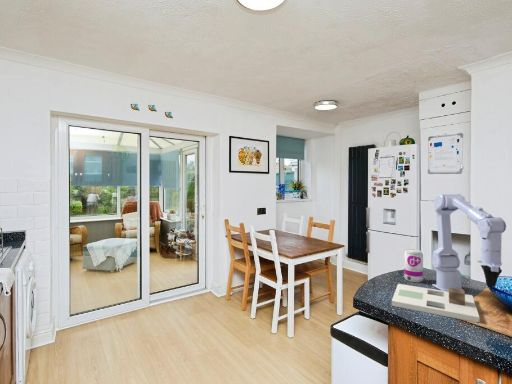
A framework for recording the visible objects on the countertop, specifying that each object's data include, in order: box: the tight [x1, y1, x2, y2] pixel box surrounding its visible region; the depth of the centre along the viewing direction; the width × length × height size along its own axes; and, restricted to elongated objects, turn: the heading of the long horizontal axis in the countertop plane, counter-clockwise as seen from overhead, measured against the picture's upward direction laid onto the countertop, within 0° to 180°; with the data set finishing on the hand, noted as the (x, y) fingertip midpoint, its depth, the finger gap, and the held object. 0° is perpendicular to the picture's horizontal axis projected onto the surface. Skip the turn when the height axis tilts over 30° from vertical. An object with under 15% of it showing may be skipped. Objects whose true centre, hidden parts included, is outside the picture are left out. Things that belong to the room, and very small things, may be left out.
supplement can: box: [403, 248, 424, 283], centre depth 145 cm, size 8×8×15 cm
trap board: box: [391, 283, 480, 323], centre depth 118 cm, size 28×23×2 cm
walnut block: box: [448, 288, 465, 306], centre depth 113 cm, size 5×5×4 cm
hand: (490, 285), depth 108 cm, fingers closed
